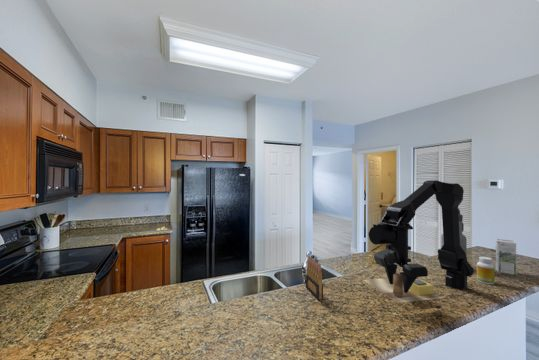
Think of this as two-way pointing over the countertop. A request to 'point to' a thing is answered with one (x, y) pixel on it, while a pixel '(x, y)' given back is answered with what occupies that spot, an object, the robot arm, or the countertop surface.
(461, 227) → the water bottle
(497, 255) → the syrup box
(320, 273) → the ammunition clip
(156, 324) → the countertop surface
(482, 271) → the supplement bottle
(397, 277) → the wooden tool handle
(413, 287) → the block
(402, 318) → the countertop surface
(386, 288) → the plywood panel
